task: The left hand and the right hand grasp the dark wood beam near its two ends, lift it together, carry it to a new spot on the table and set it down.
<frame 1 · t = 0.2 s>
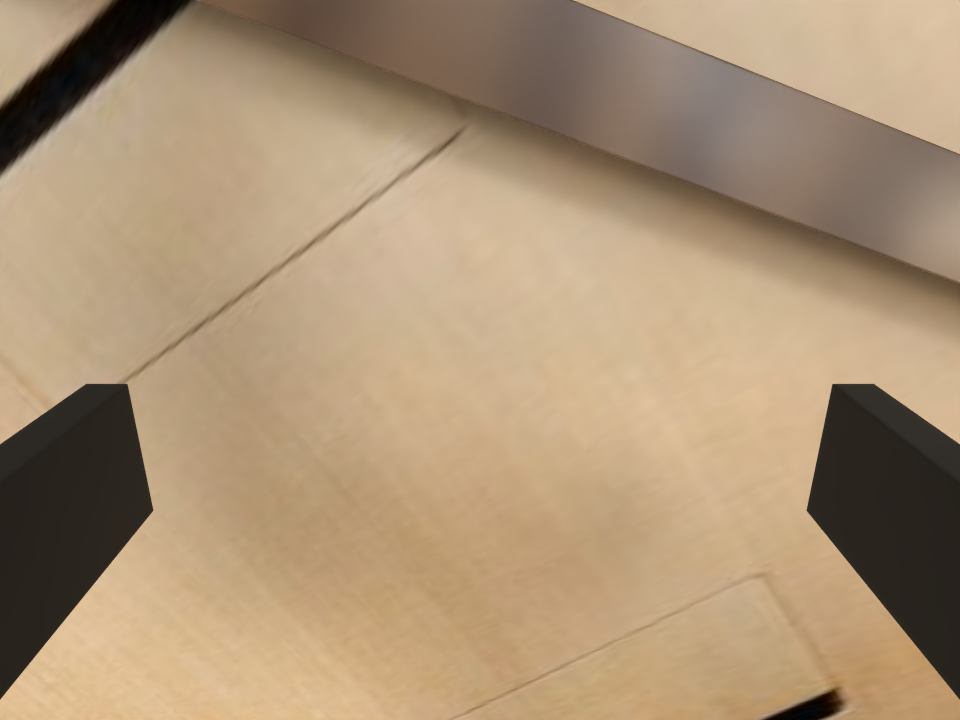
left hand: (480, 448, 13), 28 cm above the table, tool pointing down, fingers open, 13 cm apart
beam: (532, 70, 36), on the table
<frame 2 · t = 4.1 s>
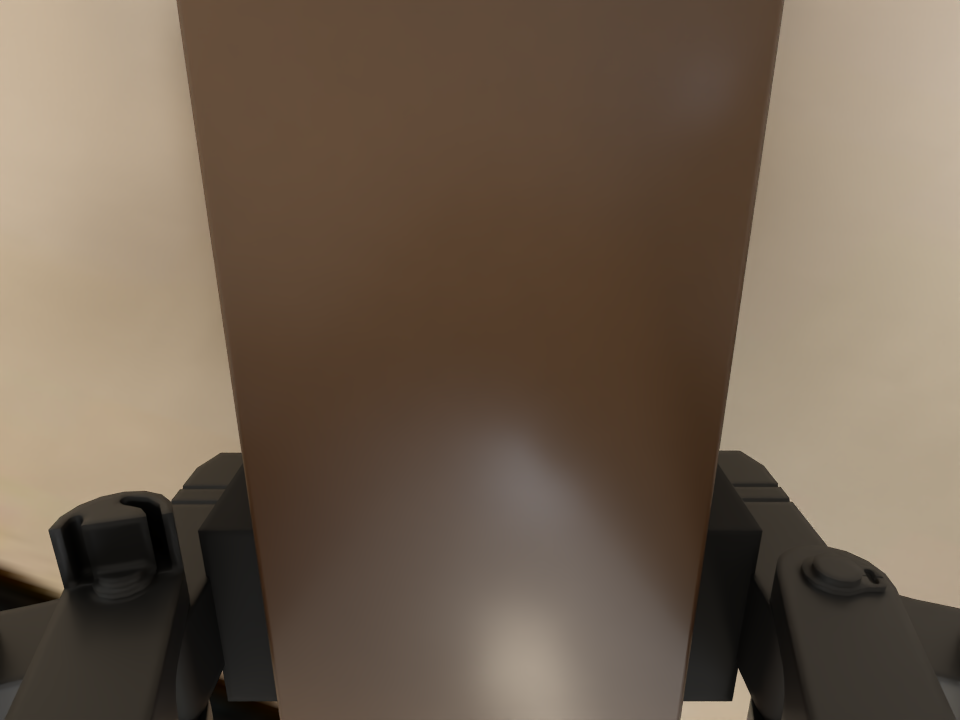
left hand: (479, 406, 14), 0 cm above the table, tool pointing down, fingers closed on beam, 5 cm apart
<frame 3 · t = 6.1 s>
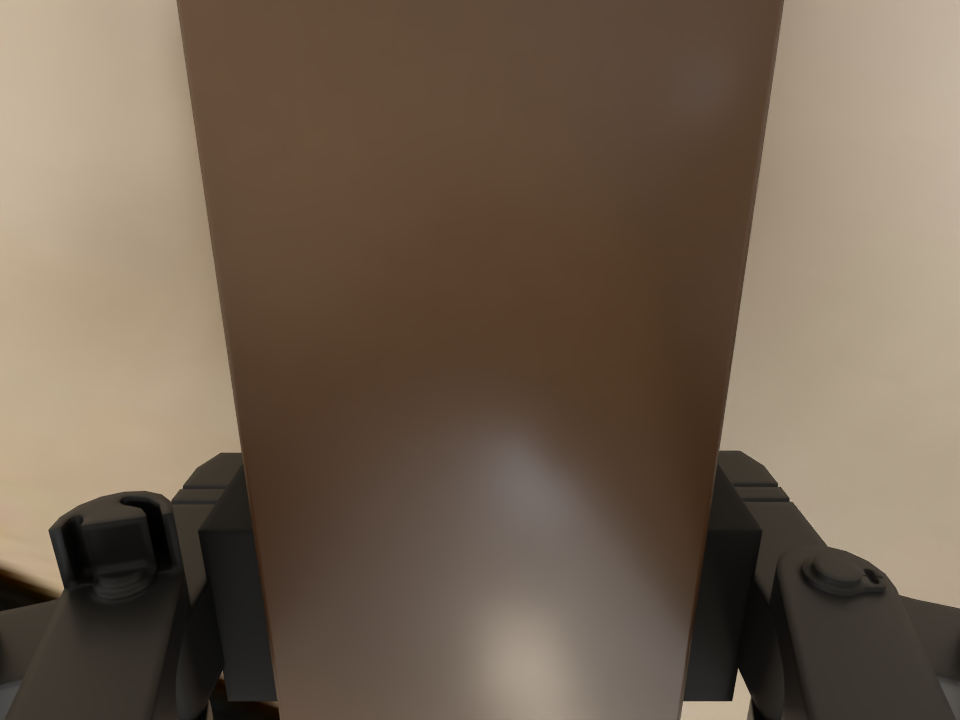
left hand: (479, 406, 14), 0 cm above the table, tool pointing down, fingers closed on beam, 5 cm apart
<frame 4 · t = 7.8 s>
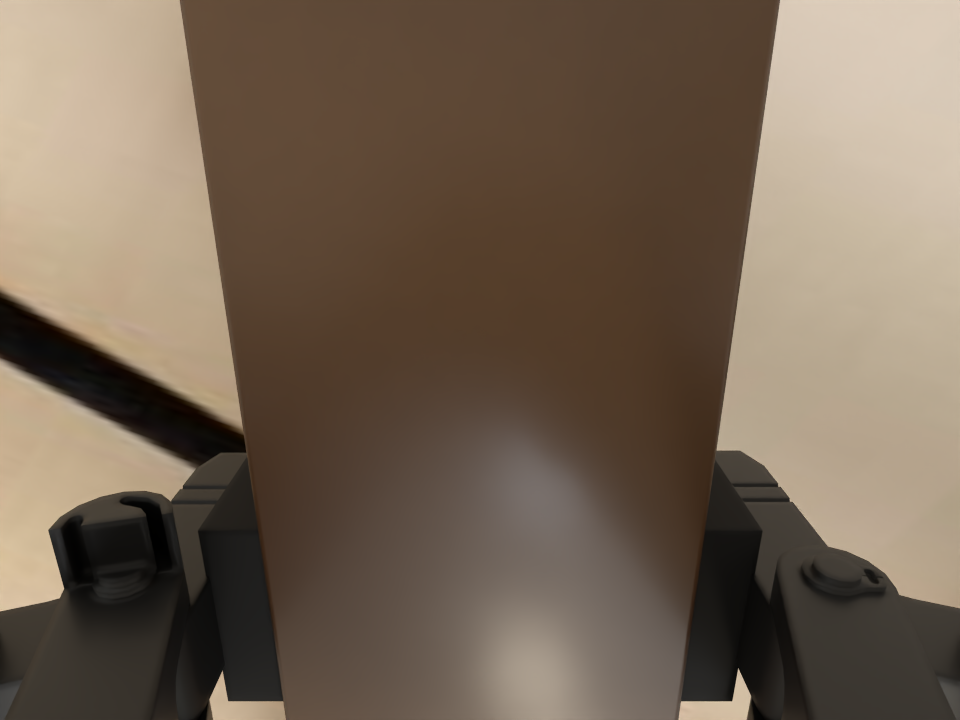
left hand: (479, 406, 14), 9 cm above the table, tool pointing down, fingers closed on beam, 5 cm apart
when the left hand's fingers open (2 cm above the table, at t = 11.7 s): beam drops 1 cm, on the table.
when the right hand's fingers open (2 cm above the table, at t = 11.7 s): beam drops 1 cm, on the table.
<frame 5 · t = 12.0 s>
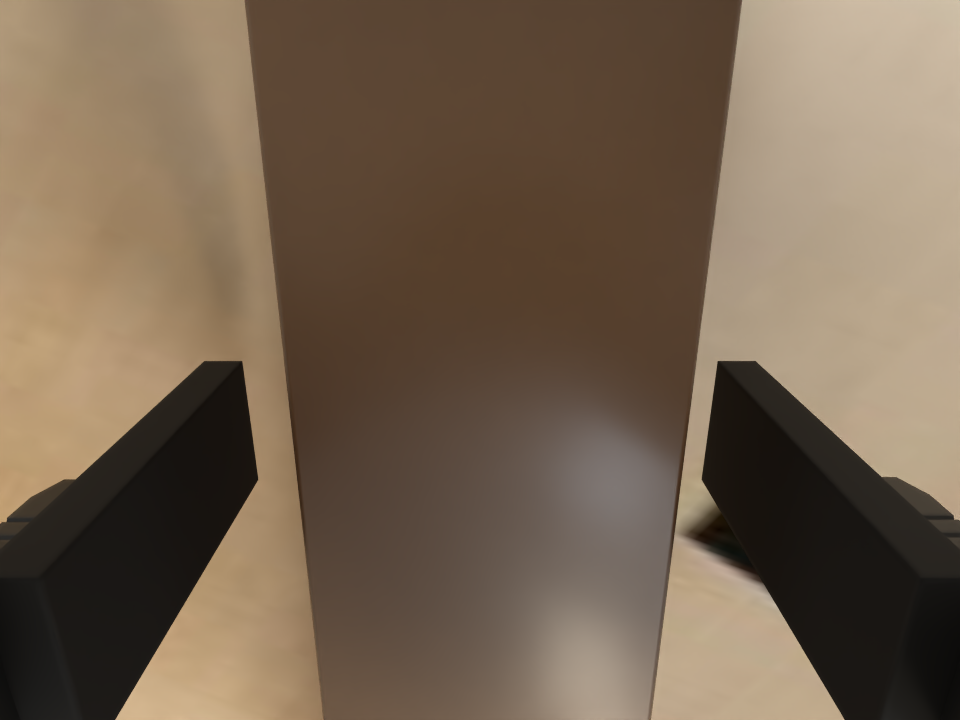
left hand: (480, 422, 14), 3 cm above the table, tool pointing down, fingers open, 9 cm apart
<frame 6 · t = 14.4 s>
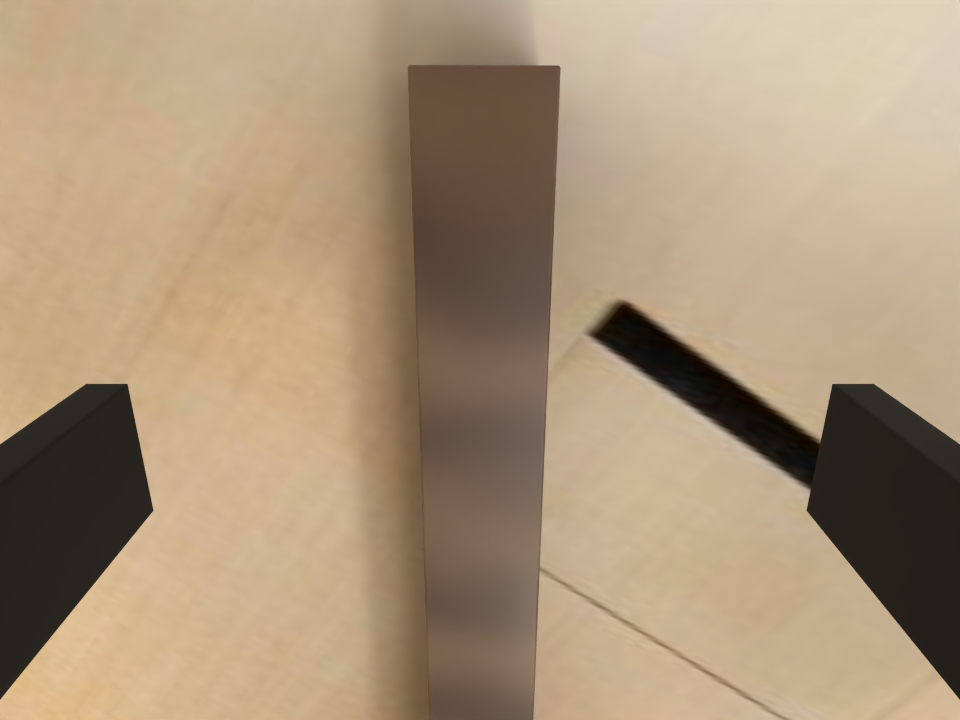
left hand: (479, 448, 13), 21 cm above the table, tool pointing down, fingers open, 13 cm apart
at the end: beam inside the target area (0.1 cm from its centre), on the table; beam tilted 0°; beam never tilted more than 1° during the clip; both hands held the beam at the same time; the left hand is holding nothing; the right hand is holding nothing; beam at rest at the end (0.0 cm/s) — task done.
